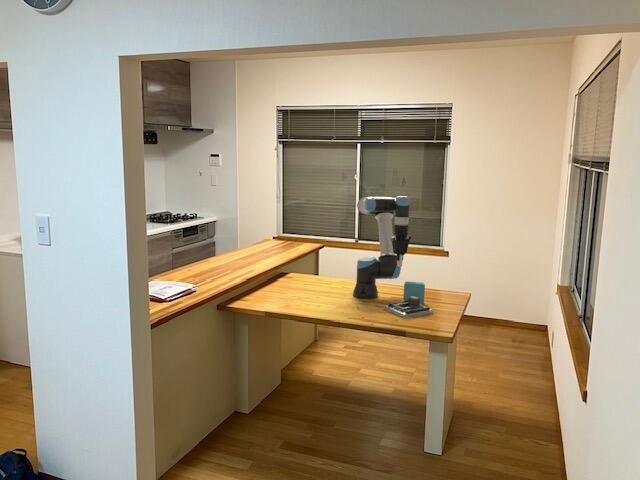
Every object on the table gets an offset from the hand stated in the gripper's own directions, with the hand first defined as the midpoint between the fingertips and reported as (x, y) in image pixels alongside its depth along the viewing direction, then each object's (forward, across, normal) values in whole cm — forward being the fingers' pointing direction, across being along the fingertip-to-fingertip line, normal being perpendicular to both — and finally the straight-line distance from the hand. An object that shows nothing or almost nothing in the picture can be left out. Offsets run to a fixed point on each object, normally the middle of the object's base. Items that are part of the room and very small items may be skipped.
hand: (399, 266), depth 297 cm
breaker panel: (+24, +2, -7) cm, 25 cm away
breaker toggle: (+22, +6, -7) cm, 24 cm away
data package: (+25, +16, +5) cm, 30 cm away
